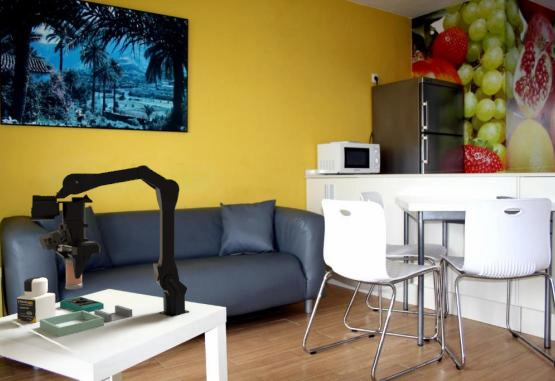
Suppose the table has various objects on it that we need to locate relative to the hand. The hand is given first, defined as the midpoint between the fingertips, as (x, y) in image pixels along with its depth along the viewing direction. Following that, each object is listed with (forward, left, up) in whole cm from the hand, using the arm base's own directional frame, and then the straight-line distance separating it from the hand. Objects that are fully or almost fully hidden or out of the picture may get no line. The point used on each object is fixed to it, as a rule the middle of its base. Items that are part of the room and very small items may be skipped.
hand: (74, 277), depth 129 cm
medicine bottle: (+16, +4, -14) cm, 21 cm away
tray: (0, +1, -14) cm, 14 cm away
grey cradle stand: (0, -11, -14) cm, 17 cm away
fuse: (0, 0, -3) cm, 3 cm away
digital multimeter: (+18, -10, -14) cm, 25 cm away
